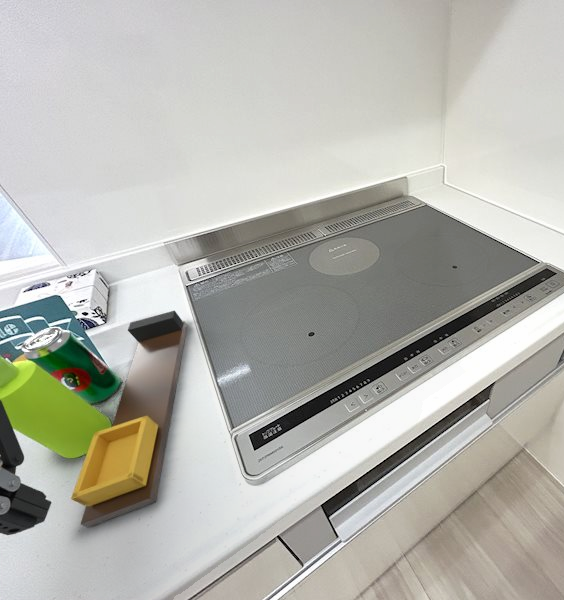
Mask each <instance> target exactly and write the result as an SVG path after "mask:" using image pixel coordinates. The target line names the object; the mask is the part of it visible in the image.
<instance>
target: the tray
mask: <svg viewBox="0 0 564 600" xmlns="http://www.w3.org/2000/svg"><path fill="white" fill-rule="evenodd" d="M157 429H158V425H157V424H156V423H155V422H154V421H153V420H152V419H150V418H149V417H148V416H144V417H141V418H138V419H135V420H132V421H129V422H126V423H122V424H119V425H116V426H113V427H112V426H111V427H110V428H107V429H104V430H101V431H98V432H95V433H94V436H93V438H92V441H91V444H90V447H89V450H88V452H87V454H85V458H84V460H83V464H82V467H81V469H80V472H79V475H78V477H77V481H76V484H75V486H74V488H73V492H72V495H71V498H70V500H72V501H74V502H76V503H79V504H80V505H82V506H85V507H86V506H87V507H89V506H92V505H94V504H97V503H100V502H103V501H105V500H108V499H111V498H113V497H116V496H119V495H122V494H124V493H127V492H130V491H132V490H135V489H138V488H141V487H143V486H146V483H147V478H148V473H149V468H150V463H151V458H152V454H153V449H154V444H155V439H156V434H157Z"/></svg>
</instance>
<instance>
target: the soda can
mask: <svg viewBox="0 0 564 600" xmlns="http://www.w3.org/2000/svg"><path fill="white" fill-rule="evenodd" d="M20 350H21V351H22V352H23V357H24V358H25V359H26V360H27V361H32V362H34V363H35V364H37V365H38V366H39V367H41V368H42V369H43V370H45V371H46V372H47V373H49V374H50V375H51V376H53V377H54V378H55V379H57V380H58V381H59V382H61V383H62V384H63V385H65V386H66V387H67V388H69V389H70V390H71V391H73V392H74V393H75V394H77V395H78V396H79V397H81V398H82V399H83V400H85V401H86V402H87V403H89V404H96V403H100V402H103V401H105V400H107V399H108V398H110V397H111V396H113V395H114V394H115V393H116V392H117V391H118V389H119V387H120V385H121V377H120V375H118V374H117V373H116V372H115V371H114V370H113V369H112V368H111V367H109V366H108V365H107V364H106V363H105V362H104V361H103V360H102V359H101V358H100V357H98V356H97V355H96V354H95V353H94V352H93V351H92V350H91V349H90V348H88V347H87V346H86V345H85V344H84V343H83V342H82V341H81V340H80V339H79V338H78V337H76V336H75V335H74V334H73V333H72V332H71V331H69V330H67V329H66V330H65V329H62V328H61V327H59V326H51V327H48V328H45V329H42V330H40V331H37V332H35V333H34V334H32V335H31V336H29V337H28V338H27V339H26V340H25V341H23V343H22V344H21V347H20Z"/></svg>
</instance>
